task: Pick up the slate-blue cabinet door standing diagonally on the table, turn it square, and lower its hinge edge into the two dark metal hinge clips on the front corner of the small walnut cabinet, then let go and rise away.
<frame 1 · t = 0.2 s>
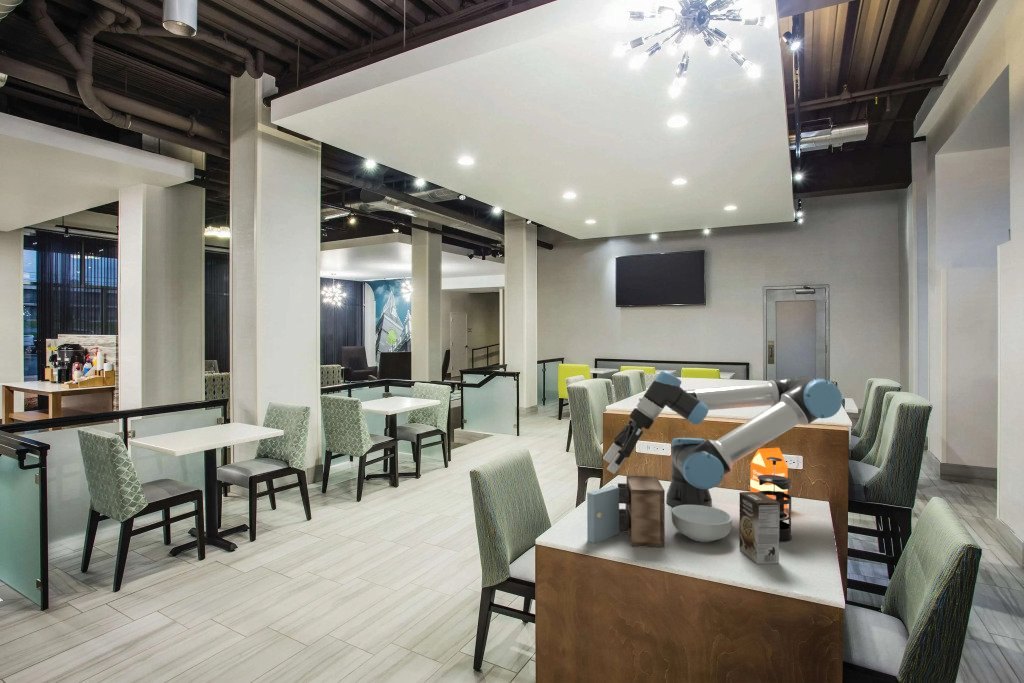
hand: (608, 466, 170), 16 cm above the table, tool tilted 35°, fingers open, 13 cm apart
cereal bowl: (701, 537, 151), on the table
butter knife: (607, 523, 163), on the table
coffee box: (758, 557, 138), on the table
french press: (774, 535, 152), on the table
door: (603, 537, 151), on the table
orange juice: (768, 506, 178), on the table
cabinet: (644, 537, 151), on the table
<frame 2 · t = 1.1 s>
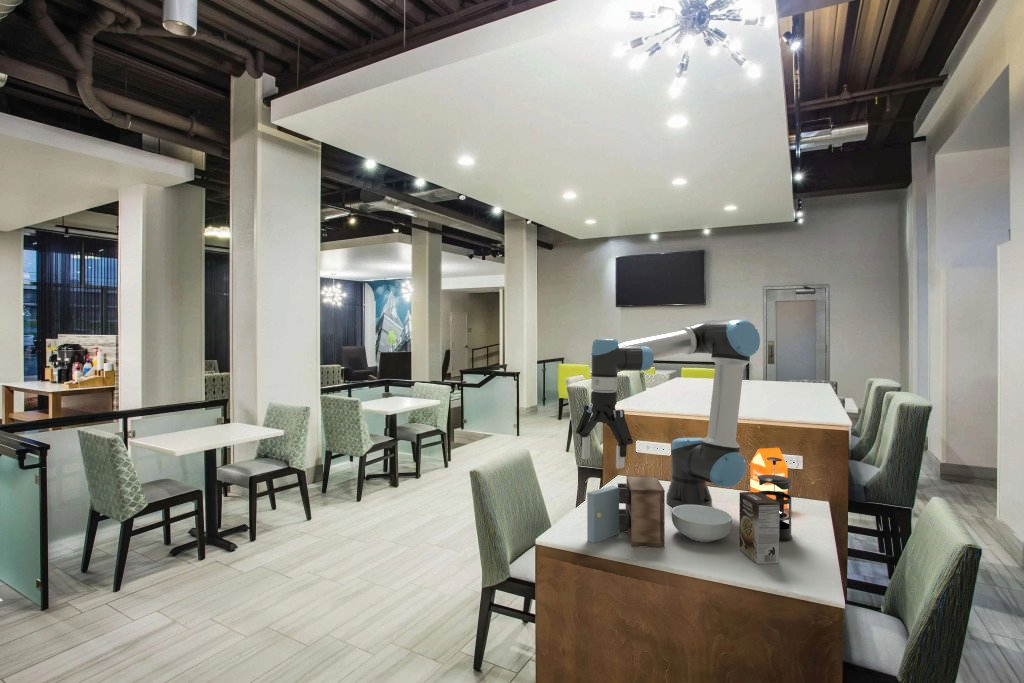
hand: (602, 463, 151), 22 cm above the table, tool pointing down, fingers open, 13 cm apart
nothing on the table moved.
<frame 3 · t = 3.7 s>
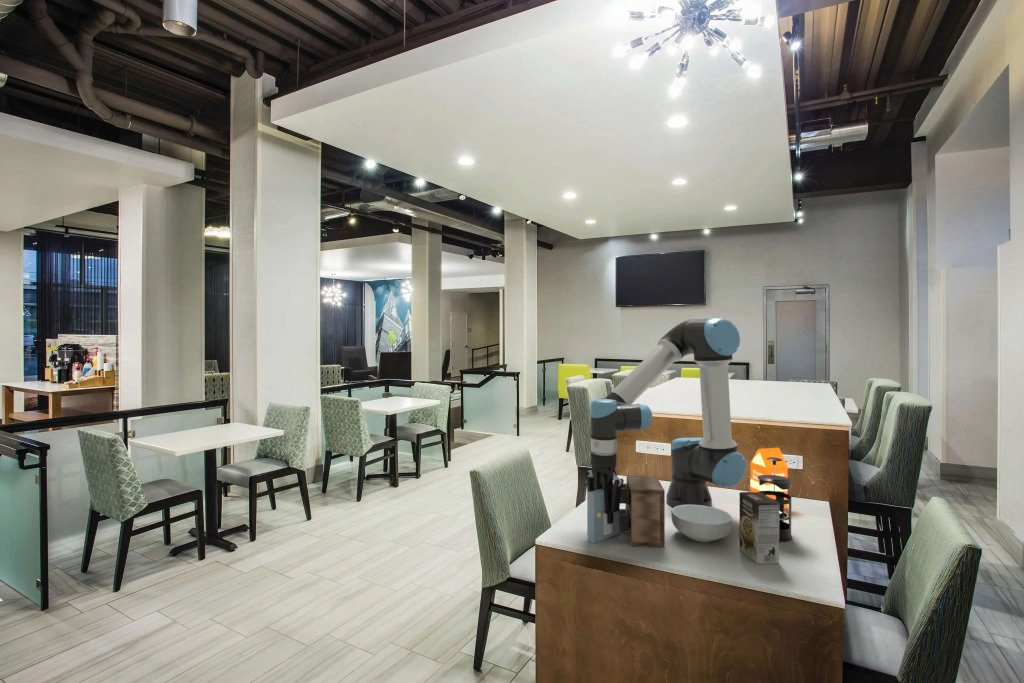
hand: (603, 532, 151), 2 cm above the table, tool pointing down, fingers closed on door, 2 cm apart
door: (603, 537, 151), on the table, touching gripper
everything else where it was.
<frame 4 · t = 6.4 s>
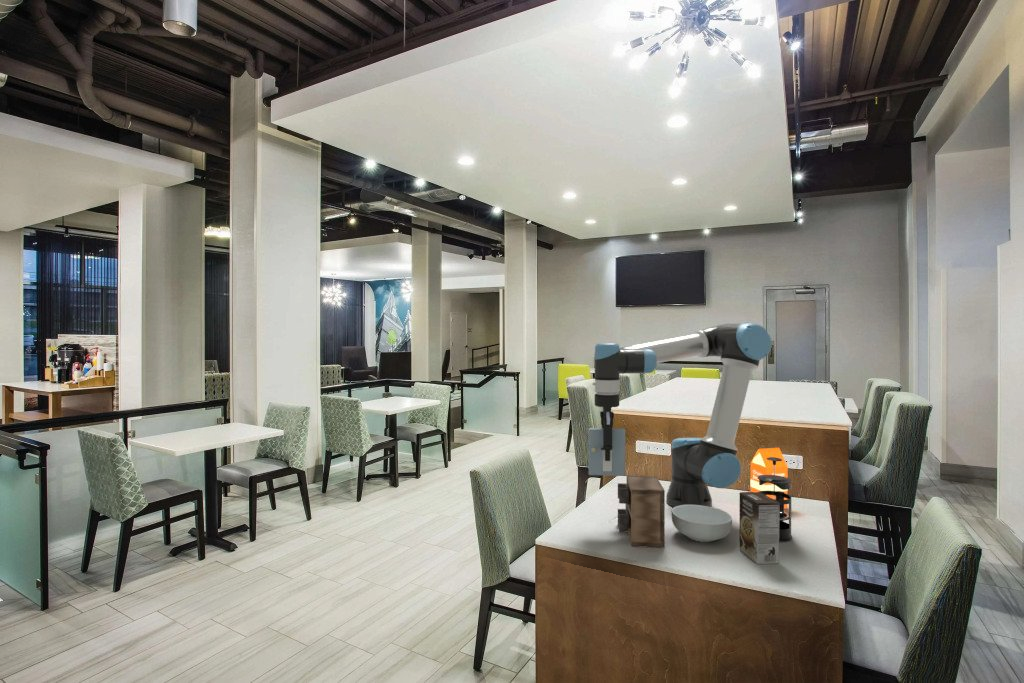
hand: (606, 469, 158), 18 cm above the table, tool pointing down, fingers closed on door, 2 cm apart
door: (606, 474, 158), point 16 cm above the table, touching gripper
everything else where it was.
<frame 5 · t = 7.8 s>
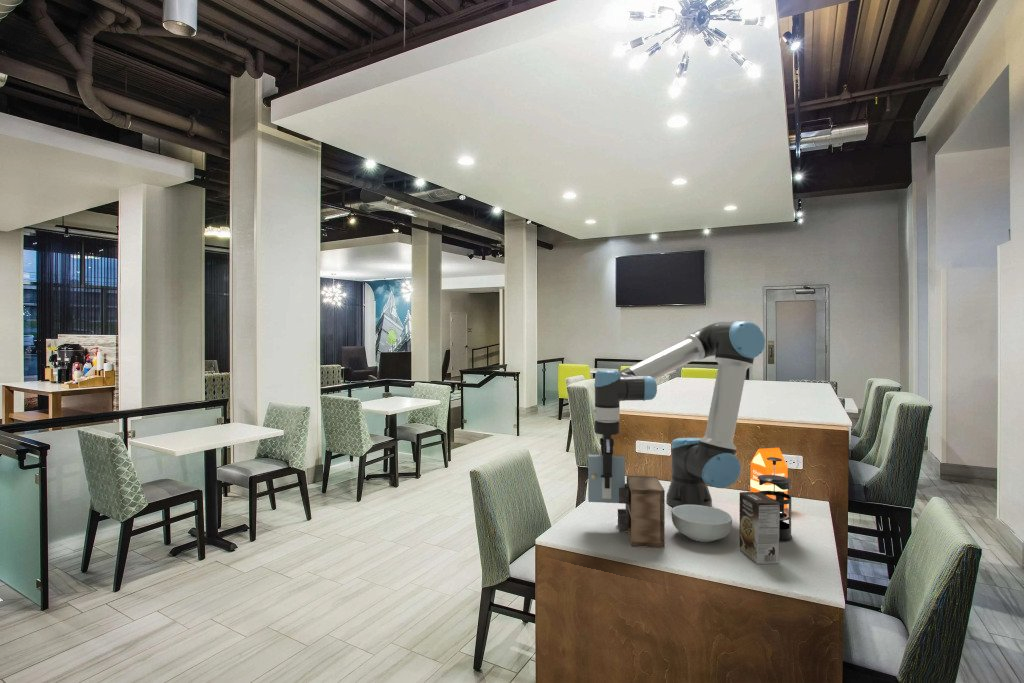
hand: (606, 496, 158), 10 cm above the table, tool pointing down, fingers closed on door, 2 cm apart
door: (606, 501, 158), point 8 cm above the table, touching gripper
when the fingers open (3 cm above the table, at t = 9.2 s): door drops 1 cm, on the table.
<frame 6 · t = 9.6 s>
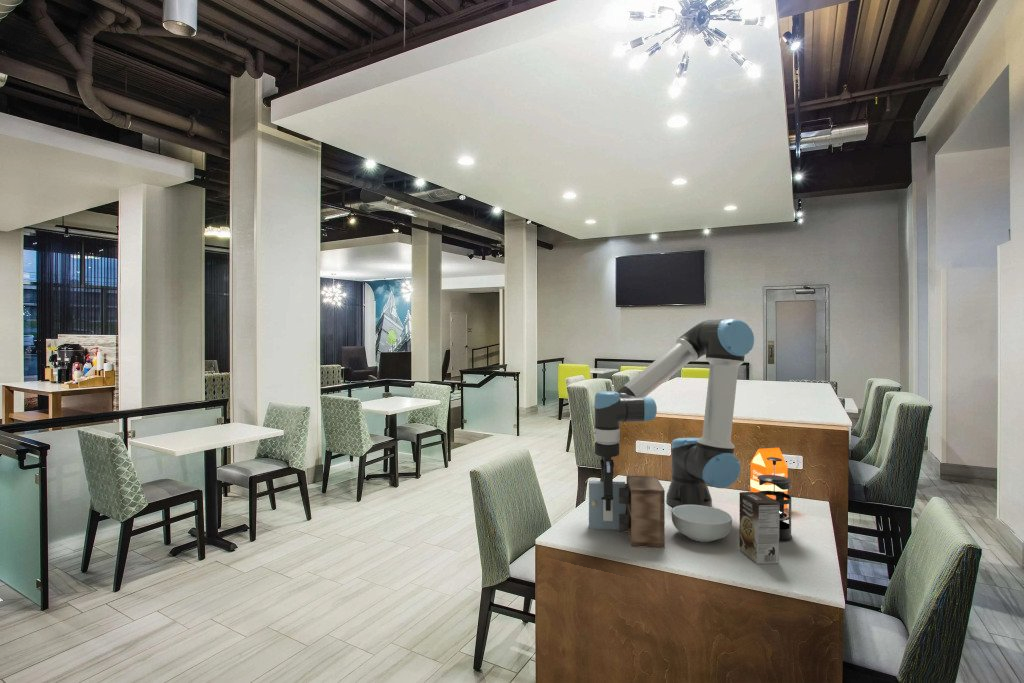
hand: (606, 515, 158), 4 cm above the table, tool pointing down, fingers open, 8 cm apart
door: (606, 527, 159), on the table
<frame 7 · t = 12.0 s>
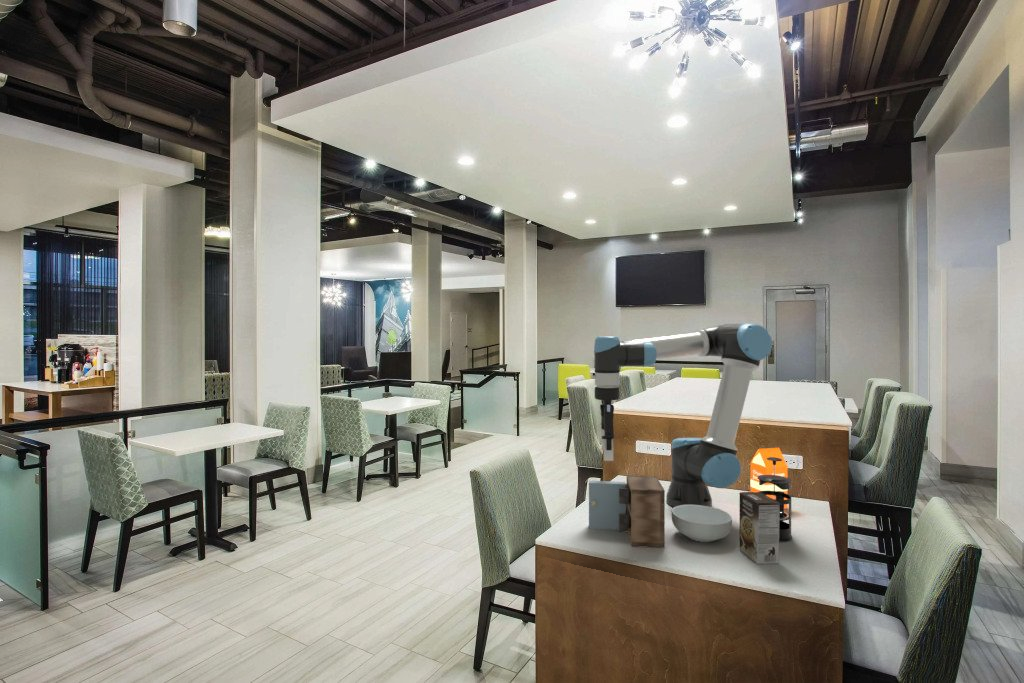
hand: (607, 455, 158), 22 cm above the table, tool pointing down, fingers open, 13 cm apart
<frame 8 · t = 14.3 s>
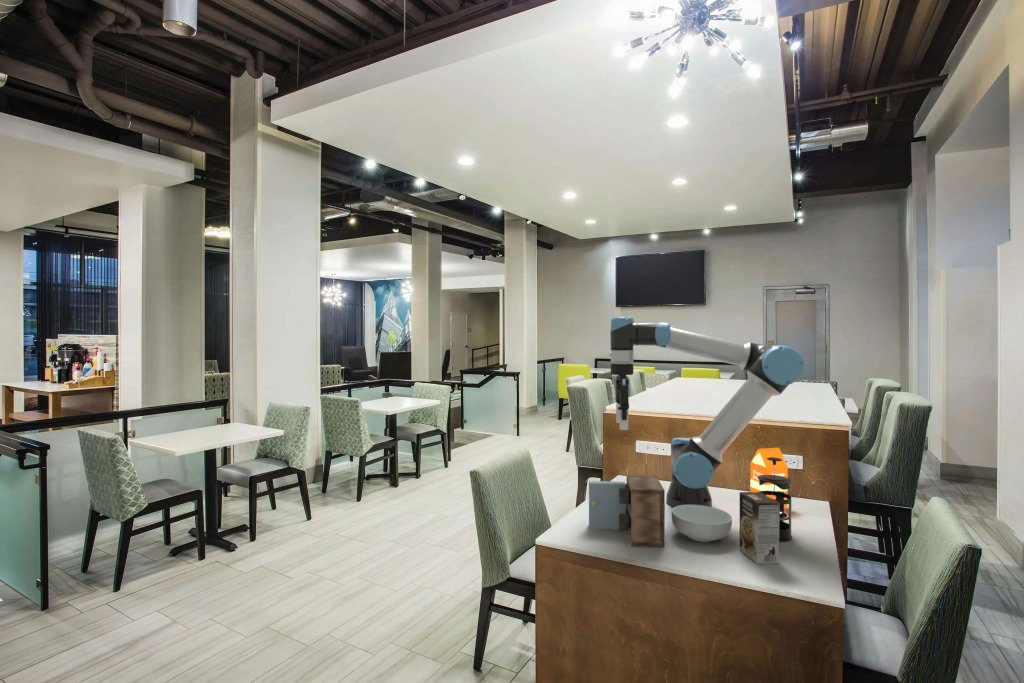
hand: (621, 426, 173), 29 cm above the table, tool pointing down, fingers open, 13 cm apart
at the end: door 0.1 cm from the target spot, on the table; door tilted 0°; the gripper is holding nothing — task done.
